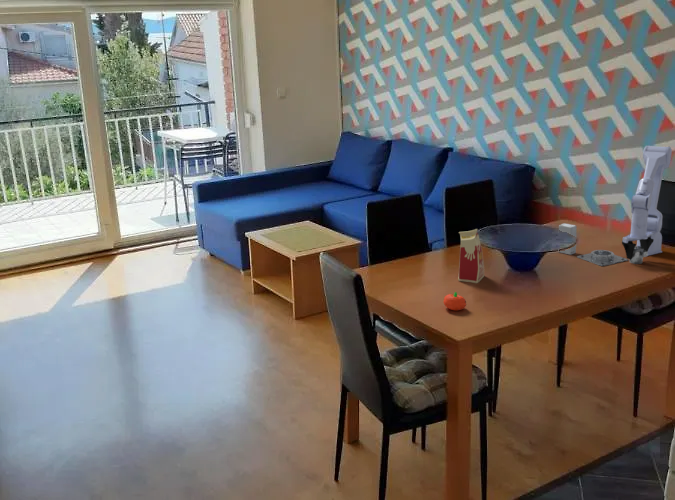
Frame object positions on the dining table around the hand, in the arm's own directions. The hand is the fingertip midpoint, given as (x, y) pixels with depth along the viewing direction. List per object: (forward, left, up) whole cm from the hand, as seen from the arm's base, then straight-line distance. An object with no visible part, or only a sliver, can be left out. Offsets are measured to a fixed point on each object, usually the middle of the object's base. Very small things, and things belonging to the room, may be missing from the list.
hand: (636, 257), depth 284 cm
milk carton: (+67, -19, -2) cm, 70 cm away
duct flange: (+8, -10, -2) cm, 13 cm away
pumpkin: (+90, +4, -2) cm, 90 cm away
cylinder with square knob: (0, 0, -2) cm, 2 cm away
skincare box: (+14, -24, -2) cm, 28 cm away
